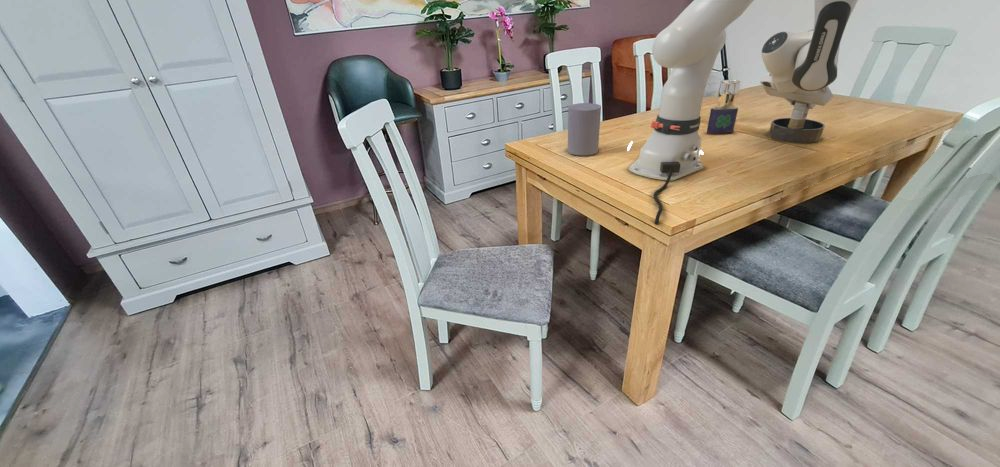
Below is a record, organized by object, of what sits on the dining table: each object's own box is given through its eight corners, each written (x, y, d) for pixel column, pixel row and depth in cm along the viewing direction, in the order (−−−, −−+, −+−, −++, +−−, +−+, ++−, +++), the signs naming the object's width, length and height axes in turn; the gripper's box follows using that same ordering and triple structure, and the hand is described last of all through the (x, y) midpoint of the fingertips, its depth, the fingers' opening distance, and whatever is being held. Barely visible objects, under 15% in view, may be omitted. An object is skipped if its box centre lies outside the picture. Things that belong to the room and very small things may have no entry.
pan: (814, 146, 133) (818, 132, 130) (762, 138, 142) (765, 125, 140) (825, 134, 141) (829, 121, 139) (775, 128, 151) (779, 115, 149)
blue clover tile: (731, 131, 151) (737, 101, 145) (734, 133, 148) (741, 103, 143) (705, 132, 151) (710, 102, 146) (708, 135, 149) (714, 104, 144)
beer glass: (708, 120, 165) (716, 81, 157) (723, 118, 166) (731, 79, 159) (721, 124, 159) (730, 83, 151) (736, 122, 160) (745, 81, 153)
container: (573, 145, 147) (574, 102, 140) (601, 148, 143) (604, 104, 135) (562, 154, 139) (563, 109, 132) (592, 157, 135) (595, 111, 127)
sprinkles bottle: (795, 125, 143) (807, 84, 136) (806, 128, 139) (819, 87, 132) (784, 126, 142) (795, 86, 135) (795, 130, 138) (807, 88, 132)
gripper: (831, 73, 120) (842, 103, 128) (769, 65, 137) (782, 92, 145) (815, 91, 121) (827, 120, 129) (755, 81, 138) (769, 107, 146)
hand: (803, 105), depth 137 cm, fingers closed on sprinkles bottle, 4 cm apart
